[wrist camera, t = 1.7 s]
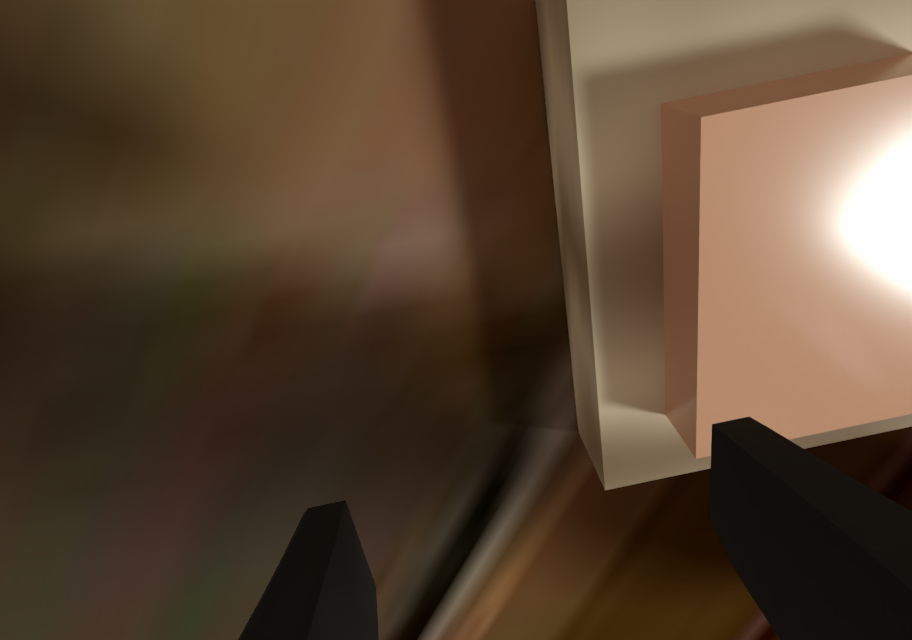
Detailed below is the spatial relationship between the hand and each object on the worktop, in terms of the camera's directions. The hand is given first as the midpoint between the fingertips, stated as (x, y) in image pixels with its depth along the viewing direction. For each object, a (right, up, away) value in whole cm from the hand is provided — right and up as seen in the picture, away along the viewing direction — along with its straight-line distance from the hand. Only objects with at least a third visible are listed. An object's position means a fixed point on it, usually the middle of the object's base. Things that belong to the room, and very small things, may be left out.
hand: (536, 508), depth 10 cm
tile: (+7, +5, +6) cm, 11 cm away
